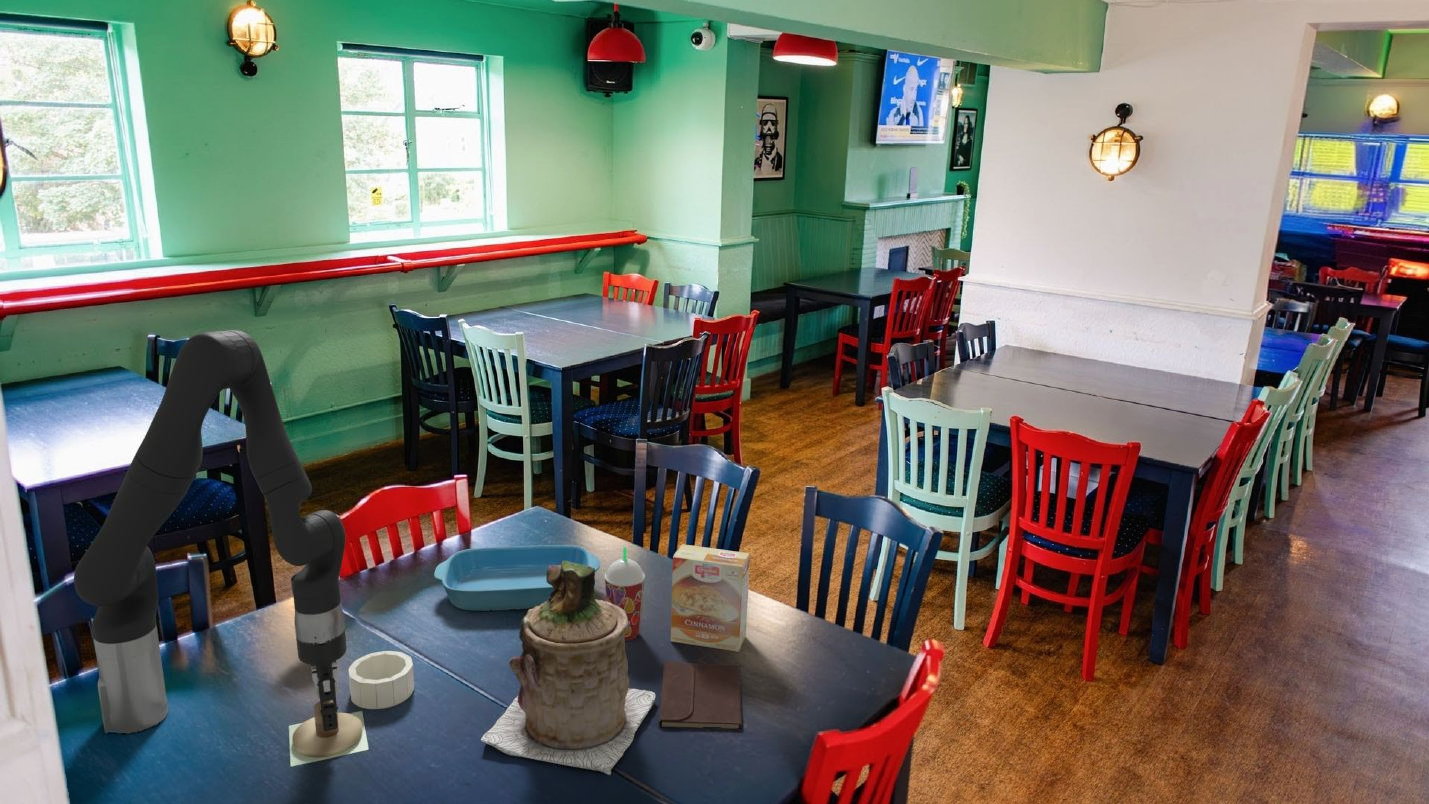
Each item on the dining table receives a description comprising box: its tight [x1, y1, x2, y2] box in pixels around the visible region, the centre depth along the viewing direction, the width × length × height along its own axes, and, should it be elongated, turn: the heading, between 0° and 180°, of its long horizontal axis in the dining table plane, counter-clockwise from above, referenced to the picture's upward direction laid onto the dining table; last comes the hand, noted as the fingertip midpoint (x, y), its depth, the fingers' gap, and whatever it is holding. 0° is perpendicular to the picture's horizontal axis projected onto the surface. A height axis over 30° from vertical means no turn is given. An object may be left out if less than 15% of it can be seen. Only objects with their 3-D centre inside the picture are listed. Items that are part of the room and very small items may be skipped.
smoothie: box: [604, 546, 646, 642], centre depth 197 cm, size 8×8×20 cm
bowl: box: [348, 650, 415, 710], centre depth 175 cm, size 11×11×6 cm
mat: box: [288, 710, 369, 768], centre depth 162 cm, size 12×12×1 cm
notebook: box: [657, 660, 743, 729], centre depth 179 cm, size 15×20×2 cm
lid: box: [292, 700, 362, 758], centre depth 161 cm, size 11×11×6 cm
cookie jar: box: [480, 560, 657, 776], centre depth 165 cm, size 25×25×32 cm
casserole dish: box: [433, 544, 601, 612], centre depth 216 cm, size 37×22×7 cm, turn 99°
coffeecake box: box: [670, 543, 751, 653], centre depth 197 cm, size 15×7×20 cm, turn 76°
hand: (329, 715), depth 161 cm, fingers open, 8 cm apart
